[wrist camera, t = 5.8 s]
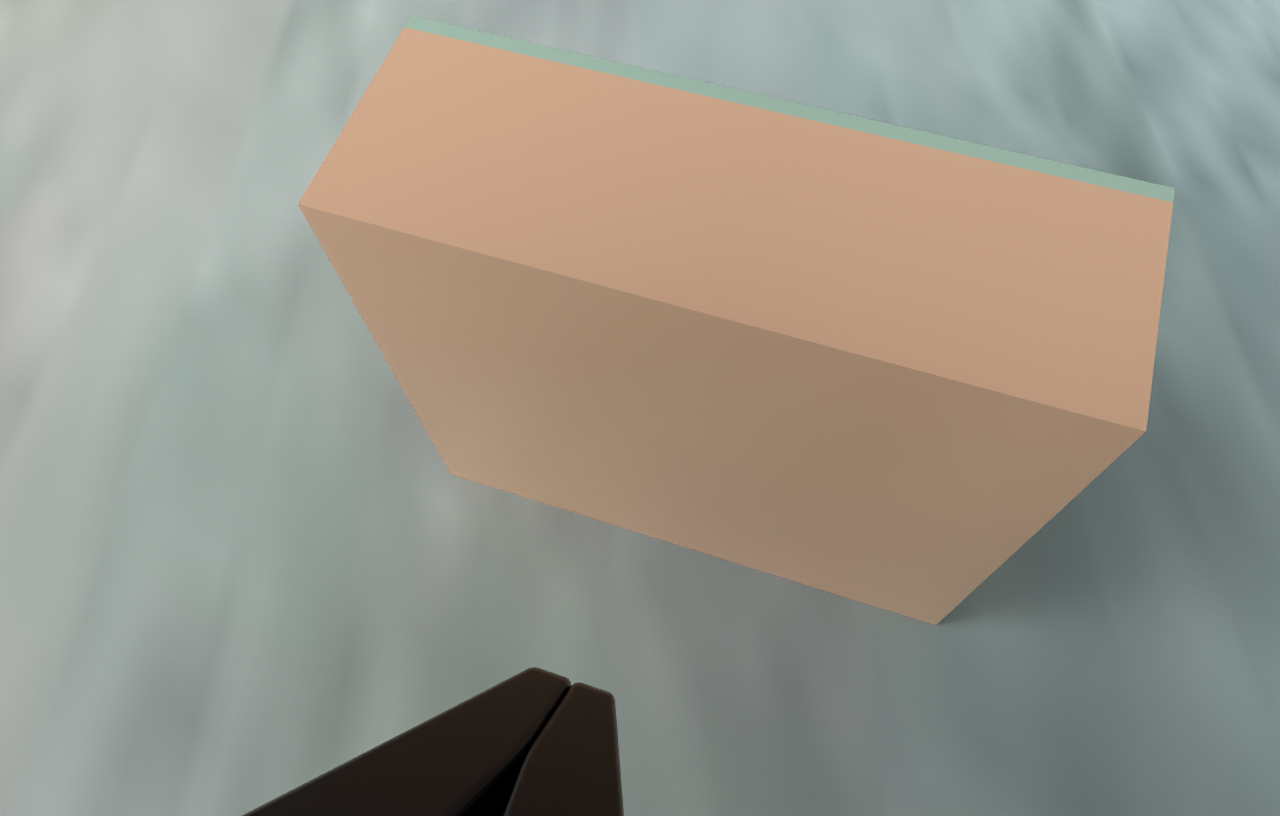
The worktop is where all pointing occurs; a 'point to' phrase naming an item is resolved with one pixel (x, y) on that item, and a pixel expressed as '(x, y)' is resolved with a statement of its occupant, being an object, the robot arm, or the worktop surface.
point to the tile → (743, 311)
